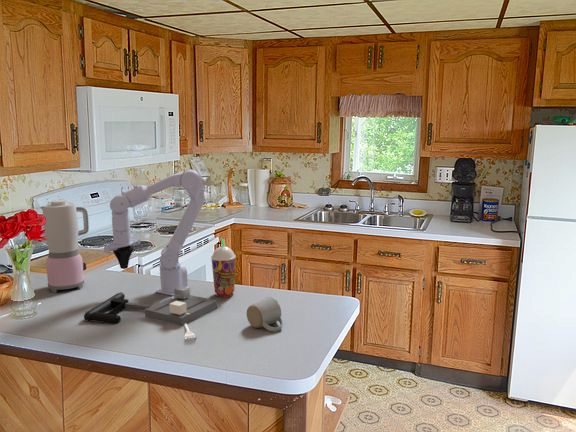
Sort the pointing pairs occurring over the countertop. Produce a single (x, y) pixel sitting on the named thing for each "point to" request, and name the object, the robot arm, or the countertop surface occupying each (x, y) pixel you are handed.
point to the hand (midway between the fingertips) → (124, 268)
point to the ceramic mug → (265, 314)
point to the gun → (113, 303)
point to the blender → (64, 245)
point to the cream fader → (178, 307)
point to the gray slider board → (194, 310)
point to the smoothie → (223, 271)
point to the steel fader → (182, 292)
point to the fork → (188, 332)
